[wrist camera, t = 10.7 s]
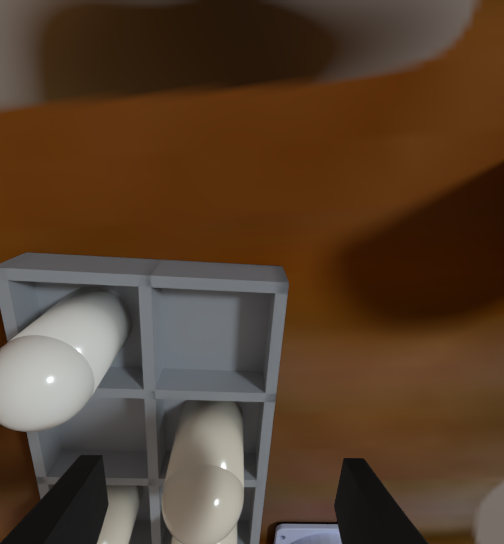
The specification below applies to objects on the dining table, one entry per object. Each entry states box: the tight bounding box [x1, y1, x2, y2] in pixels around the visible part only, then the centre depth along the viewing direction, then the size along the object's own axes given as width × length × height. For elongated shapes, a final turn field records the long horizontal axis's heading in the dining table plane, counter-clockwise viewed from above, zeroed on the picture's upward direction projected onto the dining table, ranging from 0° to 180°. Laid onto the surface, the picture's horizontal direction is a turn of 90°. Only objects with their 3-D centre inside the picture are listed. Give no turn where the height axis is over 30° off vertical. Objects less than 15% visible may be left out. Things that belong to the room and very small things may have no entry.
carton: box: [0, 253, 289, 544], centre depth 20 cm, size 20×14×2 cm
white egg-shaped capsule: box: [0, 287, 133, 432], centre depth 15 cm, size 4×4×7 cm
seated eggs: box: [97, 400, 244, 544], centre depth 18 cm, size 11×11×7 cm
